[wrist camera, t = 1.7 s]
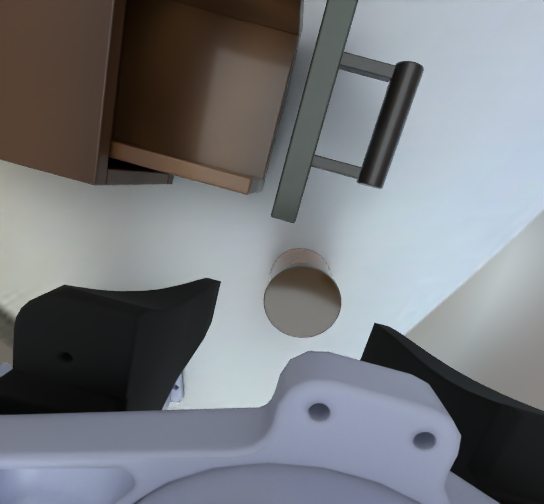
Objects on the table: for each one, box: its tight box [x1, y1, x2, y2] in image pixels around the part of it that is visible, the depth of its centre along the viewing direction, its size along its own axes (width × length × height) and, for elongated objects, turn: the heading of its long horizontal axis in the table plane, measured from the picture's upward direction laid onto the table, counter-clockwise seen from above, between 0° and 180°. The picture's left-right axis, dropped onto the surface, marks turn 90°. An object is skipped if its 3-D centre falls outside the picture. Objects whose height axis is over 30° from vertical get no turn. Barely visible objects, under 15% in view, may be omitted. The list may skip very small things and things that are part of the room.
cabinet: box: [0, 0, 173, 185], centre depth 16 cm, size 15×13×9 cm
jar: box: [264, 248, 341, 338], centre depth 20 cm, size 5×5×5 cm
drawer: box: [109, 0, 424, 223], centre depth 16 cm, size 18×11×7 cm, turn 75°
